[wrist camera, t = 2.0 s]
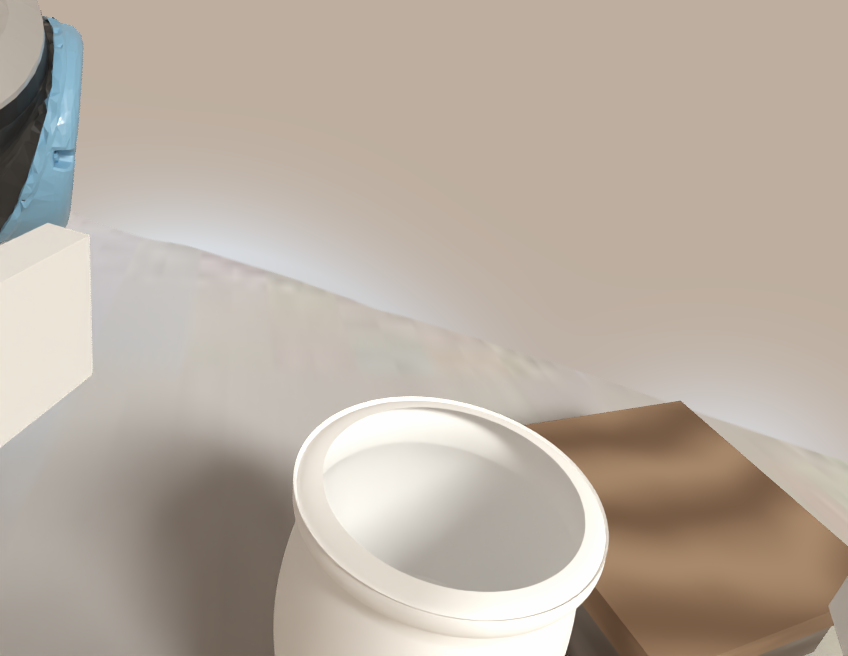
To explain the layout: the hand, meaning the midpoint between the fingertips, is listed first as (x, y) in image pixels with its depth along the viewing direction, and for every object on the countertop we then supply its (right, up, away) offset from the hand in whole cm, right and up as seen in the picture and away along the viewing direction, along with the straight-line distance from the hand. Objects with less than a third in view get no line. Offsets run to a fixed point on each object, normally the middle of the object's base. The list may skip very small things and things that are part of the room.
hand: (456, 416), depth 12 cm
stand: (+12, -13, +32) cm, 36 cm away
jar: (-2, -17, +20) cm, 26 cm away
